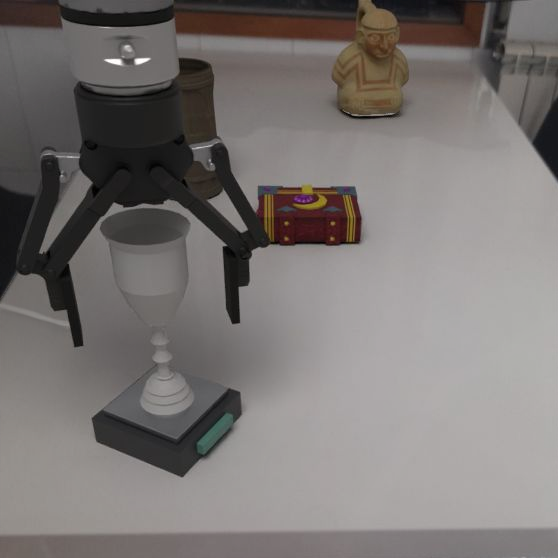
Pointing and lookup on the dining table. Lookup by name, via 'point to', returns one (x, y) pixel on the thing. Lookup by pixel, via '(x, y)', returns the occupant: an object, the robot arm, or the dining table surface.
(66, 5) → the robot arm
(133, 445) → the scale
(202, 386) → the scale pan
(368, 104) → the ceramic vessel
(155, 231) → the chalice
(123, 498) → the dining table surface
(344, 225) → the decorative book
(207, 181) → the beer stein
